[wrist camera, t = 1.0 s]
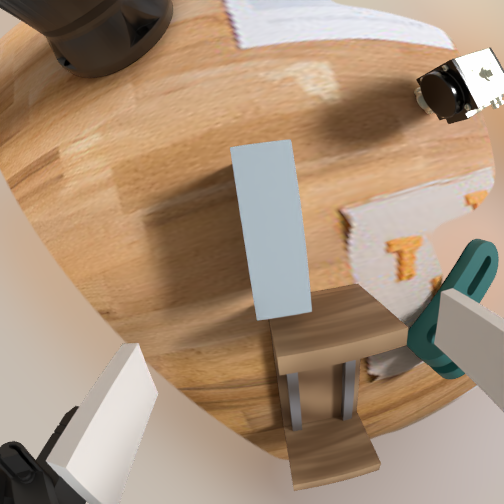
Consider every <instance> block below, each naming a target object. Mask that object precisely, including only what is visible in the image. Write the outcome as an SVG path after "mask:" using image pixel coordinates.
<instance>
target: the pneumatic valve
mask: <svg viewBox="0 0 504 504" xmlns="http://www.w3.org/2000/svg"><path fill="white" fill-rule="evenodd" d="M416 80H417V82H418V84H419V85H420V87H418V88H416V89H415V90H414V94H415V95H417V96H416V100H417V102H418V104H419V106H420V107H421V108H422V109H424V110H425V113H427V114H429V115H430V114H432V113H435V114H436V115H437V117H438V119H439V120H442V119H446V120H447V122H448V124H451V123H454V122H458V121H462V120H466V119H468V118H470V117H472V116H473V115H475V114H476V113H478V112H479V111H481V110H483V109H484V108H486V107H487V106H489V105H491V104H493V105H492V108H493V109H496V108H498V107H499V105H502V104H504V102H503V101H501V99H502V97H503V93H504V70H503V68H502V66H501V64H500V63H499V61H498V59H497V57H496V56H495V54H494V52H493V51H492V49H491V48H487V49H483V50H480V51H477V52H473V53H470V54H467V55H464V56H460V57H457V58H454V59H452V60H449V61H448V62H446V63H444V64H442V65H440V66H439V67H437V68H435V69H433V70H432V71H430V72H428V73H427V74H425V75H423V76H421V77H420V78H418V79H416ZM497 101H498V102H497ZM496 102H497V104H495V103H496Z"/></svg>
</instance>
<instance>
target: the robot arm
mask: <svg viewBox="0 0 504 504" xmlns="http://www.w3.org/2000/svg"><path fill="white" fill-rule="evenodd" d="M0 8H1V9H3V10H5V11H6V12H8V13H10V14H11V15H13V16H15V17H16V18H18V19H19V20H21V21H23V22H24V23H26V24H28V25H29V26H31V27H32V28H34V29H35V30H37V31H39V32H40V33H42V34H43V35H44V36H46V38H47V40H48V42H49V44H50V46H51V48H52V50H53V52H54V54H55V56H56V58H57V60H58V62H59V63H60V64H61V65H62V66H63V67H64V68H65V69H66V70H68V71H70V72H71V73H73V74H74V75H76V76H79V77H84V78H96V77H101V76H105V75H109V74H111V73H114V72H116V71H119V70H121V69H123V68H125V67H126V66H128V65H130V64H131V63H133V62H135V61H136V60H138V59H139V58H140V57H142V56H143V55H144V54H145V53H146V52H148V51H149V50H150V49H151V48H152V47H153V46H154V45H155V44H156V43H157V42H158V40H159V39H160V38H161V37H162V35H163V34H164V32H165V31H166V29H167V28H168V26H169V23H170V21H171V18H172V14H173V5H172V1H171V0H0ZM434 344H435V345H436V346H437V347H438V348H439V349H440V350H441V351H442V352H444V353H445V354H446V355H447V356H448V357H449V358H450V359H451V360H452V361H453V362H454V363H455V364H456V365H457V366H458V367H459V368H460V369H461V370H462V371H463V372H465V373H466V374H467V375H468V376H469V377H470V378H471V379H472V380H473V381H474V382H475V383H476V384H477V385H478V386H479V387H480V388H481V389H482V390H483V391H484V392H485V393H486V394H487V395H488V396H489V397H490V398H491V399H492V400H493V401H494V403H495V404H497V406H498V407H499V408H500V409H501V410H502V411H503V412H504V318H502V317H501V316H499V315H498V314H496V313H494V312H492V311H491V310H489V309H488V308H486V307H484V306H483V305H481V304H479V303H478V302H476V301H474V300H472V299H471V298H469V297H467V296H466V295H464V294H462V293H460V292H459V291H457V290H455V289H453V288H452V289H448V290H445V291H442V292H441V297H440V307H439V315H438V322H437V329H436V335H435V341H434ZM157 395H158V392H157V390H156V387H155V385H154V382H153V381H152V378H151V375H150V373H149V370H148V368H147V365H146V362H145V360H144V357H143V354H142V352H141V349H140V346H139V343H127V344H122V345H121V347H120V348H119V350H118V351H117V352H116V354H115V355H114V357H113V358H112V359H111V361H110V362H109V364H108V365H107V366H106V368H105V369H104V371H103V372H102V374H101V375H100V377H99V378H98V380H97V381H96V382H95V384H94V386H93V387H92V388H91V390H90V391H89V393H88V394H87V396H86V397H85V399H84V400H83V402H82V403H81V405H80V406H75V407H74V408H72V409H71V410H70V411H69V412H67V413H66V414H65V416H64V417H63V419H62V420H61V422H60V423H59V424H60V425H59V426H57V428H56V429H55V431H54V432H55V433H53V434H52V435H51V437H50V439H49V440H48V442H47V443H46V445H45V446H44V448H43V450H42V451H41V453H40V455H39V456H38V458H37V459H36V460H35V459H34V458H33V457H32V456H31V454H29V452H28V451H27V450H26V449H25V447H24V446H23V445H22V444H21V443H19V442H15V441H13V442H8V443H5V444H3V445H2V446H1V447H0V504H85V503H86V502H88V503H89V504H119V503H120V500H121V497H122V494H123V491H124V488H125V485H126V482H127V479H128V476H129V473H130V470H131V467H132V464H133V461H134V458H135V455H136V452H137V450H138V447H139V444H140V441H141V439H142V436H143V433H144V430H145V427H146V425H147V422H148V419H149V417H150V414H151V411H152V408H153V406H154V403H155V400H156V398H157Z"/></svg>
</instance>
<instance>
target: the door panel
mask: <svg viewBox="0 0 504 504" xmlns="http://www.w3.org/2000/svg"><path fill="white" fill-rule="evenodd" d="M230 151H231V158H232V164H233V171H234V177H235V184H236V191H237V197H238V204H239V210H240V216H241V223H242V229H243V236H244V242H245V248H246V255H247V261H248V268H249V274H250V280H251V286H252V293H253V299H254V305H255V311H256V318H257V321H258V320H265V319H272V318H278V317H284V316H290V315H296V314H302V313H308V312H312V305H311V293H310V282H309V272H308V262H307V253H306V244H305V235H304V227H303V219H302V211H301V203H300V196H299V189H298V182H297V175H296V168H295V162H294V156H293V150H292V143H291V140H281V141H273V142H264V143H257V144H249V145H242V146H236V147H230Z"/></svg>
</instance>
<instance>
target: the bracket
mask: <svg viewBox="0 0 504 504" xmlns="http://www.w3.org/2000/svg"><path fill="white" fill-rule="evenodd" d="M497 268H498V252H497V249H496V247H495V245H494V244H493V243H491V242H488V241H485V240H481V239H474V240H472V241H470V242H469V243H468V244H467V246H466V247H465V249H464V250H463V252H462V254H461V256H460V257H459V259H458V260H457V262H456V264H455V265H454V267H453V268H452V270H451V271H450V273H449V274H448V276H447V277H446V279H445V280H444V282H443V283H442V286H441V288H440V289H439V291H438V292H437V294H436V295H435V296H434V298H433V299H432V301H431V302H430V303H429V305H428V306H427V307H426V309H425V310H424V311H423V313H422V314H421V315H420V316H419V318H418V319H417V320H416V322H415V323H414V324H413V325H412V327H411V328H410V329H409V330H408V335H407V346H408V347H409V348H410V349H411V350H412V351H413V352H414V353H415V354H416V355H417V356H418V357H419V358H420V359H421V360H423V361H424V362H425V363H426V364H427V365H429V366H430V367H431V368H432V369H433V370H434V371H436V372H437V373H438V374H439V375H440V376H442V377H443V378H445V379H456V378H458V377H461V376H462V375H464V374H465V372H463V371H462V370H461V369H460V368H459V367H458V366H457V365H456V364H455V363H454V362H453V361H452V360H451V359H450V358H449V357H448V356H447V355H446V354H445V353H444V352H442V351H441V350H440V349H439V348H438V347H437V346H436V345H435V344H434V341H435V335H436V329H437V322H438V315H439V307H440V297H441V292H442V291H445V290H448V289H452V288H453V289H455V290H457V291H459V292H460V293H462V294H464V295H466V296H467V297H469V298H471V299H472V300H474V301H476V302H478V303H480V301H481V300H482V298H483V297H484V295H485V293H486V292H487V290H488V288H489V287H490V285H491V283H492V281H493V280H494V278H495V275H496V272H497Z"/></svg>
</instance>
